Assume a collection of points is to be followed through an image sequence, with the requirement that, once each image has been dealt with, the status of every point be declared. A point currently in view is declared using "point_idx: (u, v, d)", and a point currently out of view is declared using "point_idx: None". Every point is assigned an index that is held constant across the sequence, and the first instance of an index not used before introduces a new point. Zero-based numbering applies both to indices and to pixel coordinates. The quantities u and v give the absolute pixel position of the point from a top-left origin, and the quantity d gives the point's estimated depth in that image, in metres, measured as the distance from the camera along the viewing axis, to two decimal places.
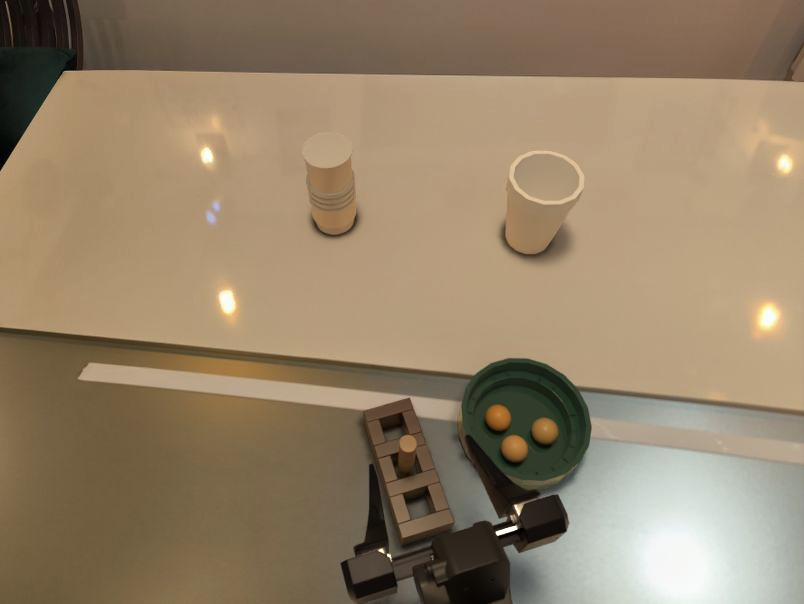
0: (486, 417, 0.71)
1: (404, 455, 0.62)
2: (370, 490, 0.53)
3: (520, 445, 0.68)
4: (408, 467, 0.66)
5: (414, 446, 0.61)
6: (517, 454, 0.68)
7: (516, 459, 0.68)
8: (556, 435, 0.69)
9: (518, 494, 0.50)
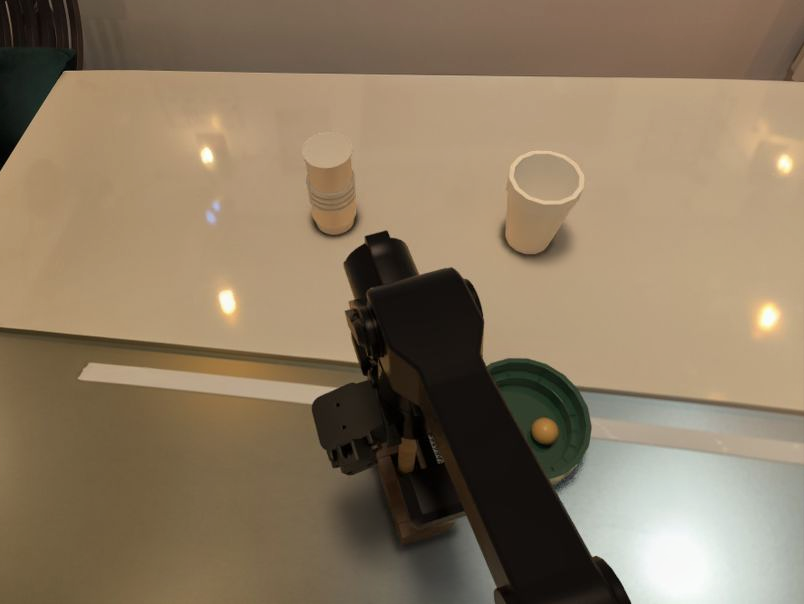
0: None
1: (404, 455, 0.62)
2: None
3: None
4: (408, 467, 0.66)
5: (414, 446, 0.61)
6: None
7: None
8: (556, 435, 0.69)
9: None
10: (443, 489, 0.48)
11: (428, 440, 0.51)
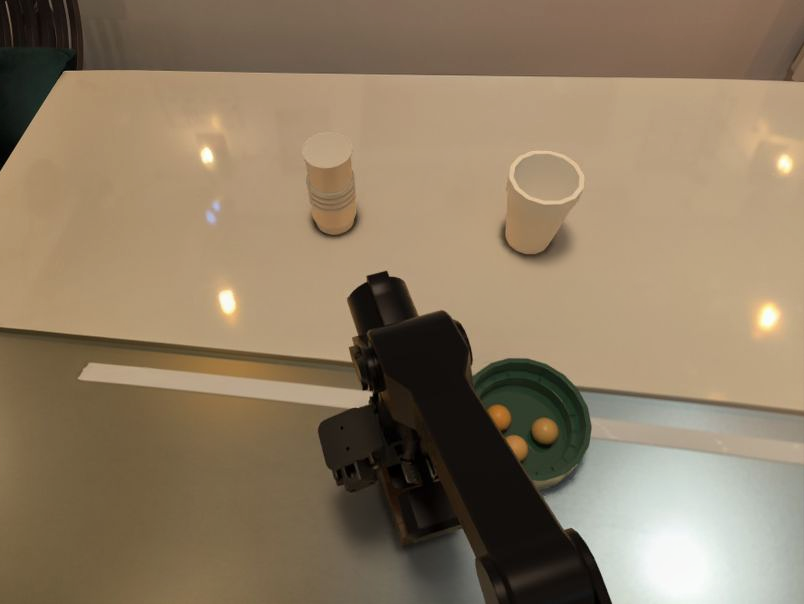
0: None
1: None
2: None
3: (520, 445, 0.68)
4: None
5: None
6: (517, 454, 0.68)
7: None
8: (556, 435, 0.69)
9: None
10: (438, 505, 0.53)
11: (424, 460, 0.56)
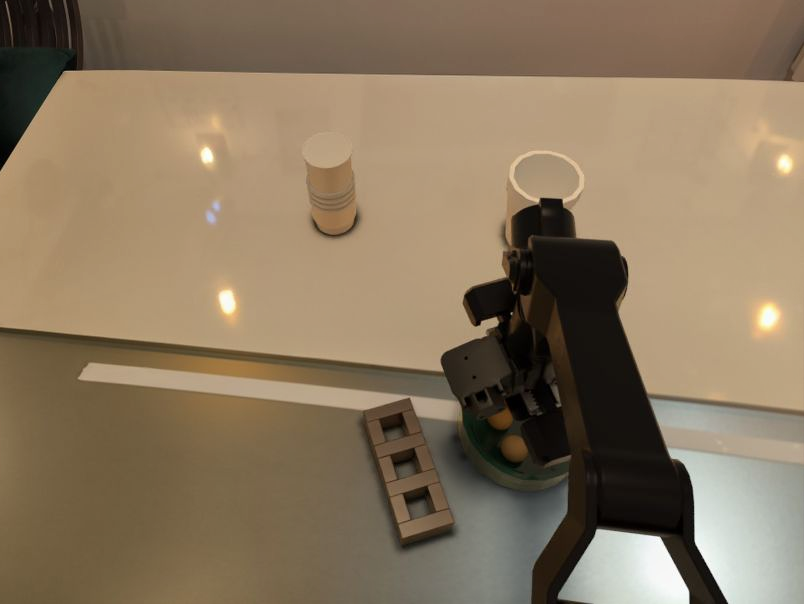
0: None
1: None
2: None
3: (520, 445, 0.68)
4: None
5: None
6: (517, 454, 0.68)
7: (516, 459, 0.68)
8: None
9: None
10: (566, 431, 0.54)
11: (547, 389, 0.57)
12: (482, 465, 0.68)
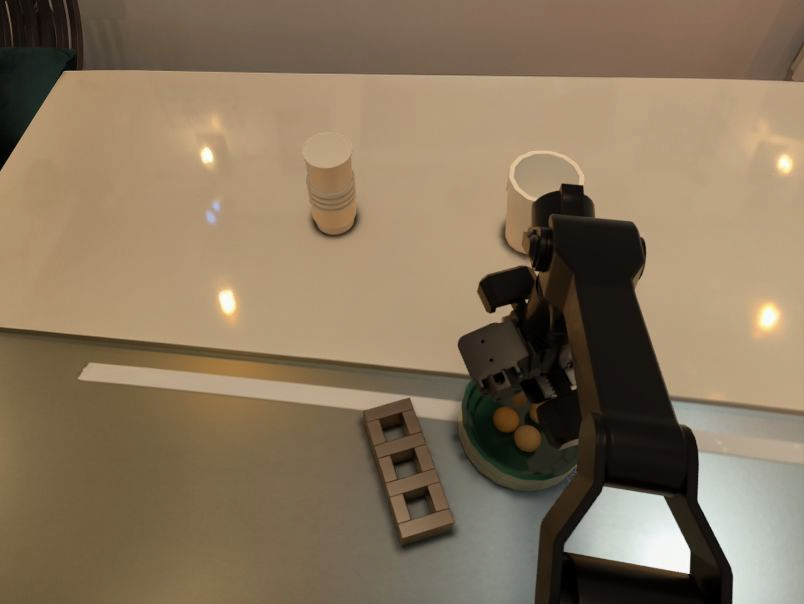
0: (499, 414, 0.71)
1: None
2: None
3: None
4: None
5: None
6: (539, 437, 0.69)
7: (538, 440, 0.69)
8: None
9: None
10: None
11: (562, 373, 0.58)
12: (482, 465, 0.68)
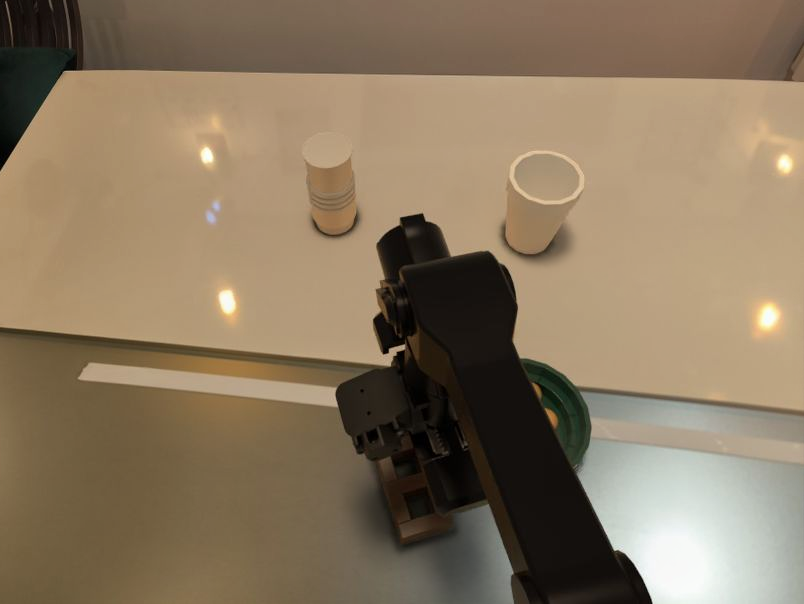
0: None
1: None
2: None
3: None
4: None
5: None
6: None
7: None
8: None
9: None
10: (469, 476, 0.48)
11: (453, 427, 0.51)
12: None
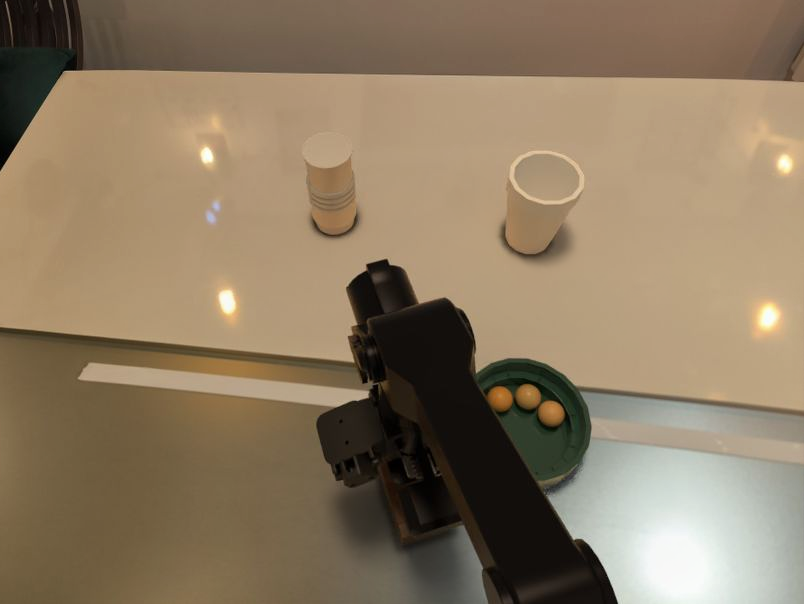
0: None
1: None
2: None
3: (547, 425, 0.71)
4: None
5: None
6: None
7: None
8: (522, 385, 0.73)
9: None
10: (440, 501, 0.52)
11: (426, 454, 0.55)
12: None
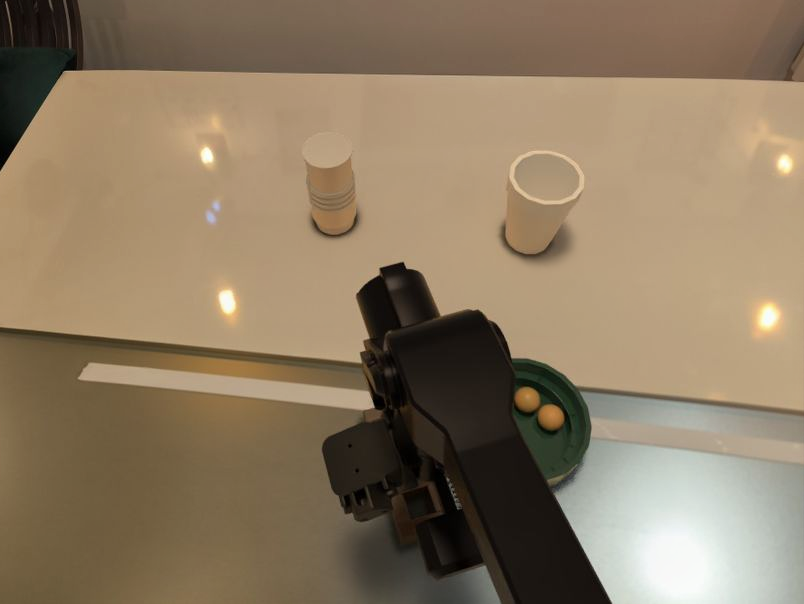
0: None
1: None
2: None
3: (546, 429, 0.71)
4: None
5: None
6: None
7: None
8: (521, 388, 0.73)
9: None
10: (463, 538, 0.45)
11: (446, 483, 0.48)
12: None
